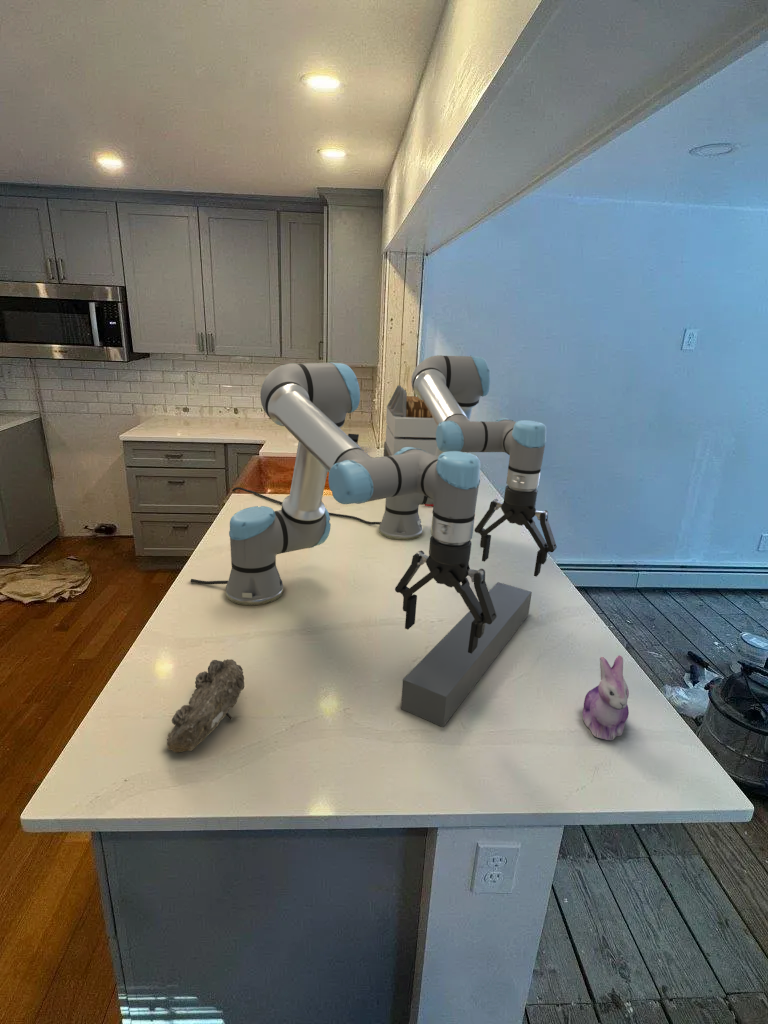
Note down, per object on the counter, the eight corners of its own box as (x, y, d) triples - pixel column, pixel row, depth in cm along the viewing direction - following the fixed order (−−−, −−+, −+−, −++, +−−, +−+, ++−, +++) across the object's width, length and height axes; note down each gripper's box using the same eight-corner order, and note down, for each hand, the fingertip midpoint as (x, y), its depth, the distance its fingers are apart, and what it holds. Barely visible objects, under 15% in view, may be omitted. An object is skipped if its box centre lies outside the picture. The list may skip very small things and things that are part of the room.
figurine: (608, 750, 104) (623, 681, 99) (567, 715, 113) (579, 651, 107) (643, 734, 108) (659, 668, 103) (601, 702, 117) (614, 640, 112)
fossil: (192, 660, 117) (244, 628, 112) (224, 691, 120) (276, 661, 115) (142, 746, 98) (202, 712, 93) (182, 779, 101) (242, 748, 96)
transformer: (382, 463, 289) (386, 382, 275) (445, 464, 293) (451, 384, 279) (390, 482, 257) (394, 392, 243) (460, 483, 261) (468, 394, 247)
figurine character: (358, 454, 309) (358, 445, 322) (358, 441, 305) (359, 432, 319) (345, 454, 308) (347, 445, 322) (346, 441, 305) (347, 432, 319)
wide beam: (494, 604, 154) (497, 581, 152) (528, 615, 150) (531, 591, 148) (400, 708, 113) (402, 679, 110) (443, 727, 108) (446, 697, 106)
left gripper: (381, 527, 106) (375, 625, 113) (509, 564, 94) (493, 670, 101) (401, 515, 112) (394, 609, 119) (524, 549, 100) (507, 650, 108)
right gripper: (467, 480, 138) (458, 558, 145) (570, 502, 126) (555, 587, 134) (479, 473, 144) (470, 548, 151) (578, 493, 132) (563, 575, 140)
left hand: (440, 637), depth 110 cm, fingers open, 13 cm apart
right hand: (510, 566), depth 143 cm, fingers open, 13 cm apart
